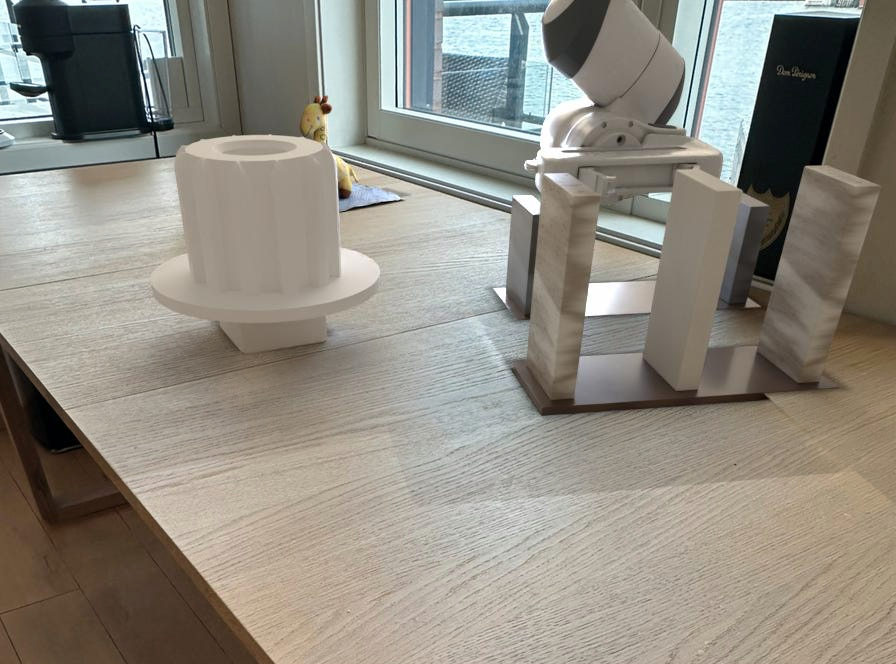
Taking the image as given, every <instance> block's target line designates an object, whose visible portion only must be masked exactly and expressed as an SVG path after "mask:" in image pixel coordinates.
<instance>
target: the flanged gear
mask: <svg viewBox="0 0 896 664" xmlns="http://www.w3.org/2000/svg"><path fill="white" fill-rule="evenodd" d="M333 154H334V153H333V151H332V149H331V148H330V146H329V145H328V144H327V142H326V143H325V142H317V141H314V140H313V139H310V138H305V137H303V136H299V137H298V136H292V135H291V136H290V135H277V134H276V135H275V134H271V133H269V134H247V135H245V134H244V135H236V134H232V135H230V136H221V137H214V138H207V139H206V138H205V139H204V138H201V139H199V141H195V142H192V143H190V144H188V145H180V147H179V148H178V150H177V151H176V154H175V160H174V166H173V168H174V174H175V182H176V188H177V195H178V202H179V208H180V213H181V221H182V227H183V234H184V240H185V246H186V252H185V253H183V254H179V255H177V256H174V257H172V258H170V259H168V260H166V261H165V262H163V263H161V264H160V265H158V266H157V267H156V268H155V269H154V270H153V271H152V272H151V274H150V278H149V280H150V287H151V293H152V296H153V298H154V300H156V302H158V303H159V304H160V305H161V306H163V307H164V308H166V309H168V310H170V311H172V312H175V313H177V314H181V315H184V316H188V317H191V318H196V319H201V320H208V321H213V322H214V321H215V322H219V327H220V328H221V330H222V332H224V333H225V335H226V336H227V337H228V338H229V339H230V341H231V342H232V343H233V344H234V345H235V347H236V348H237V349H238V350H239V351H240V352H241V353H242V354H244V355H252V354H258V353H264V352H271V351H276V350H283V349H289V348H295V347H296V348H297V347H301V346H307V345H308V346H309V345H315V344H320V343H324V342H327V341H328V331H327V316H331V315H333V314H339V313H342V312H344V311H348V310H350V309H352V308H355V307H358V306H361V305H362V304H364V303H365V302H367V301H369V300H370V299H371V298H373V297H374V296H375V295H376V294H377V293H378V292H379V290H380V288H381V269H380V266H379V265H378V263H377V262H376V261H375V260H373V259H372V258H371V257H369V256H368V255H365V254H363V253H361V252H358V251H355V250H353V249H349V248H346V247H343V246H342V245H341V228H340V227H341V226H340V212H339V202H338V180H337V162H336V158H335V156H334V155H335V154H334V155H333Z"/></svg>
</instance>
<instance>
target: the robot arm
mask: <svg viewBox="0 0 896 664" xmlns="http://www.w3.org/2000/svg"><path fill="white" fill-rule="evenodd" d="M540 41H541V49H542V55H543V58H544V62H546V63H547V64H548V65H549V66H551V68H553V69H554V70H556V71H557V72H558V73H559V74H560V75H562V76H563V77H564V78H565V79H566V80H570V81H571V83H573V84H574V85H575V87H576V88H577V89H579V90H580V92H581V93H582V94H583V95H584V96H582V97H580V98H577V99H575V100H569V101H565V102H563V103H560V104H559V105H557V106H556V107H555V108H553V109H552V110H551V111H549V114H548V115H547V116H546V118H545V119H544V122H543V125H542V128H541V133H540V150H539V151H538V152H537V156H536V158H534V159H533V160H525V163H524V166H523V167H524V170H525V171H526V172H527V173H530V174H534V175H535V179H534V180H535V181H534V183H535V186H536V188H537V190H538V191H539V193H540V194H542V184H543V174H553V173H569V174H570V175H572V176H573V177H575V178H576V179H577V180H579V181H580V182H582V183H583V184H585V185H586V186H588V187H589V188H591V189H592V190H593V191H595V192H596V193H598V194H599V195H601V198H600V205H602V206H606V205H613V204H616V203H620V202H621V201H623V200H628V199H632V198H635V197H638V196H642V195H649V194H665V193H666V194H667V193H672V189H673V183H674V177H675V172H676V170H683V169H700V170H702V171H704V172H706V173H708V174H710V175H712V176H714V177H716V178H718V179H720V180H721V175H722V171H723V164H724V154H723V153H722V151H720V150H719V149H717V148H716V147H715V146H712V145H711V144H709V143H707V142H705V141H703V140H702V139H699V138H697V137H692V136H688V135H687V129H686V128H685V127H682V126H679V125H672V124H668V123H669V122H670V120H671V119H672V118H673V116H674V114H675V112H676V111H677V109H678V107H679V105H680V102H681V99H682V95H683V91H684V86H685V81H686V62H685V59H684V57H682V55H681V54H680V53H679V51H677V49H676V48H675V47H674V46H673V44H672V43H671V42H670V41H669V39H667V38H666V36H665V35H664V34H663V33H662V32H661V31H660V29H657V27H655V26H654V24H653V23H652V22H651V21H650V20H649V18H647V16H646V15H645V14H644V13H643V11H642V10H640V8H639V7H638V6H637V4H635V2H633V0H551V1H550V2H549V4H548V6H546V9H545V11H544V12H543V14H542V16H541V21H540Z"/></svg>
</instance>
